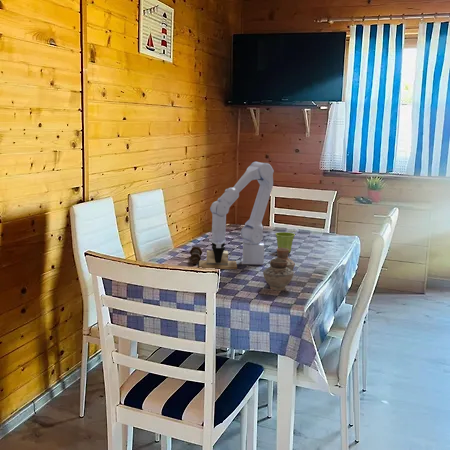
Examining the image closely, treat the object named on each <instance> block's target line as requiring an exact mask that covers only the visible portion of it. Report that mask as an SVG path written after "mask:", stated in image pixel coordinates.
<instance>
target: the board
mask: <svg viewBox="0 0 450 450" xmlns="http://www.w3.org/2000/svg"><path fill="white" fill-rule="evenodd" d="M199 267H202V268H201V269H206V268H220V269H219V270H238V264H237V261H236V260H228V265H207V259H205V260H202V259H200V261H199V263H198V268H199Z"/></svg>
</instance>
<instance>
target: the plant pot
mask: <svg viewBox="0 0 450 450" xmlns="http://www.w3.org/2000/svg"><path fill="white" fill-rule="evenodd" d="M274 235H275V237H276V244H277V248H288V249H289V253H291V252H292V247H293V241H294V238H295V236H296V234H295V233H293V232H285V231H284V232H283V231H282V232H281V231H279V232H275V234H274Z"/></svg>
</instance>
